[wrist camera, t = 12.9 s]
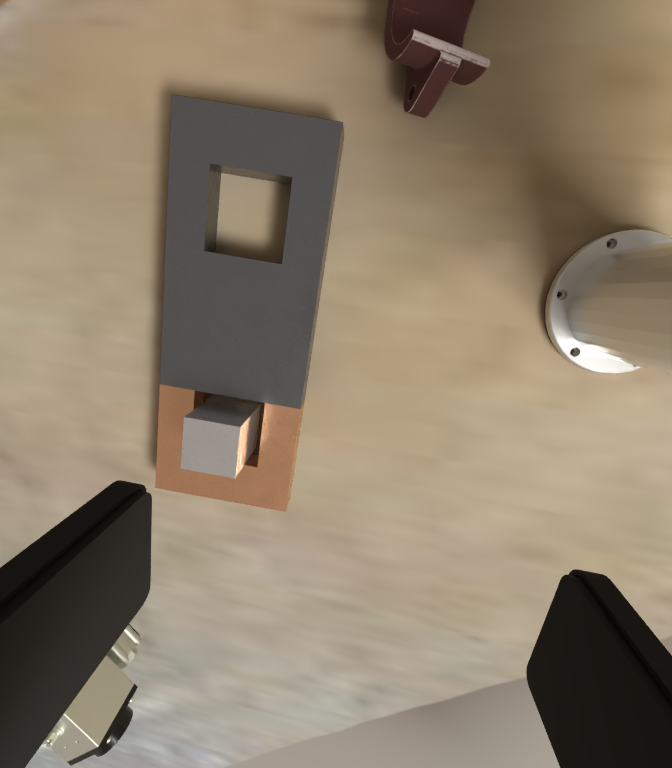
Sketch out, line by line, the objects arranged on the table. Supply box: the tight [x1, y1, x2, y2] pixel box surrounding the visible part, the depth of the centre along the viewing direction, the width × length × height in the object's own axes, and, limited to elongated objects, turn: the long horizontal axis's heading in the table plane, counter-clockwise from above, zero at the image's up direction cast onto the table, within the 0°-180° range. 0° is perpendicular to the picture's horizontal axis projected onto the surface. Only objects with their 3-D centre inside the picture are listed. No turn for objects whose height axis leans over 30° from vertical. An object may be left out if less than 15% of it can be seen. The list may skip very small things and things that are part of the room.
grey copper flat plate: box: [155, 95, 344, 511], centre depth 35 cm, size 14×36×2 cm, turn 171°
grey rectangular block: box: [181, 395, 261, 478], centre depth 36 cm, size 5×5×7 cm
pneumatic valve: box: [42, 625, 140, 765], centre depth 42 cm, size 6×12×12 cm, turn 34°
